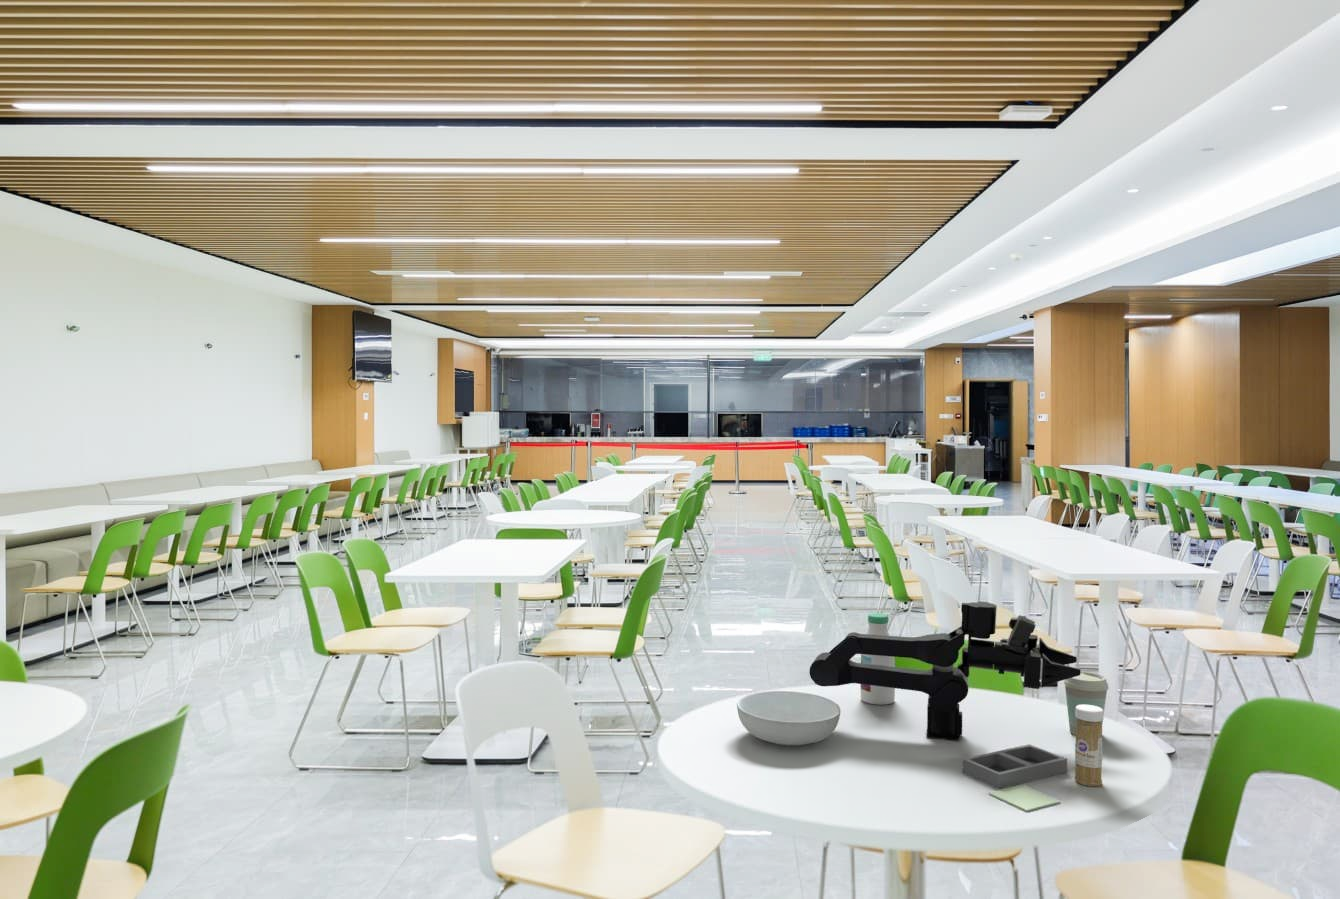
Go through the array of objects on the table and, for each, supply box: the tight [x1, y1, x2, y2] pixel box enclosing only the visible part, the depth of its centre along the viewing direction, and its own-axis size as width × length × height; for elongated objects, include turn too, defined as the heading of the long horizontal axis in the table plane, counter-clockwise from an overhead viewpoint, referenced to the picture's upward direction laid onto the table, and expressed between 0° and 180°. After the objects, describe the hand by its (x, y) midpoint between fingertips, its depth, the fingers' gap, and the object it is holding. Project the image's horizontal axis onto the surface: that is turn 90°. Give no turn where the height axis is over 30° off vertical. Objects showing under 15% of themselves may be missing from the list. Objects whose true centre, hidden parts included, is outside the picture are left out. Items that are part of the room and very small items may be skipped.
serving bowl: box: [736, 690, 841, 746], centre depth 184 cm, size 21×21×7 cm
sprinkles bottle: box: [1074, 704, 1105, 787], centre depth 161 cm, size 5×5×14 cm
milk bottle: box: [860, 613, 896, 706], centre depth 210 cm, size 8×8×20 cm
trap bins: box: [961, 744, 1068, 790], centre depth 166 cm, size 17×9×2 cm, turn 117°
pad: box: [988, 784, 1061, 813], centre depth 154 cm, size 8×8×1 cm
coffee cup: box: [1063, 671, 1110, 736], centre depth 187 cm, size 8×8×12 cm
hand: (1078, 665), depth 178 cm, fingers open, 9 cm apart
